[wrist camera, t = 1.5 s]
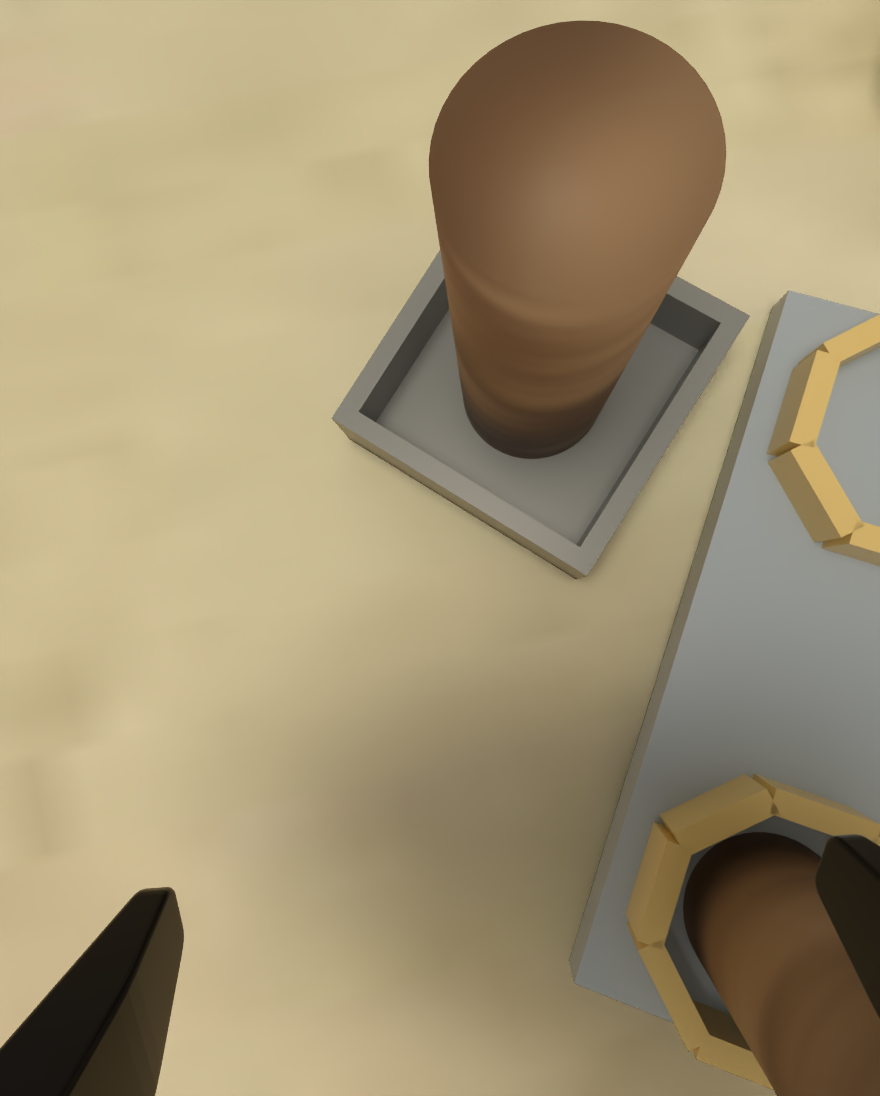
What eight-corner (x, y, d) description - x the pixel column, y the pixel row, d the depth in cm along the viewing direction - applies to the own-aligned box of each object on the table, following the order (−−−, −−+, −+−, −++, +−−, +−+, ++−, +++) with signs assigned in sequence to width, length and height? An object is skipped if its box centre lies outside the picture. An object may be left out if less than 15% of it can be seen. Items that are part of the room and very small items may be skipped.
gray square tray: (719, 350, 21) (750, 315, 18) (576, 579, 21) (586, 576, 18) (489, 222, 22) (488, 174, 19) (350, 439, 22) (331, 418, 19)
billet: (630, 366, 21) (783, 100, 10) (555, 484, 20) (625, 350, 10) (509, 299, 21) (526, -26, 10) (436, 413, 21) (374, 209, 10)
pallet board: (862, 1075, 19) (924, 1154, 16) (569, 960, 20) (581, 1016, 17) (1057, 384, 20) (1144, 350, 17) (772, 308, 21) (812, 264, 18)
